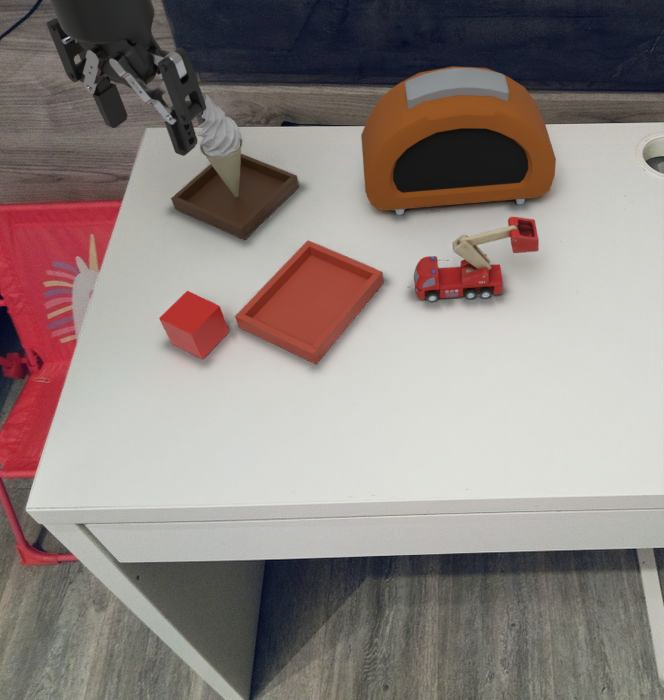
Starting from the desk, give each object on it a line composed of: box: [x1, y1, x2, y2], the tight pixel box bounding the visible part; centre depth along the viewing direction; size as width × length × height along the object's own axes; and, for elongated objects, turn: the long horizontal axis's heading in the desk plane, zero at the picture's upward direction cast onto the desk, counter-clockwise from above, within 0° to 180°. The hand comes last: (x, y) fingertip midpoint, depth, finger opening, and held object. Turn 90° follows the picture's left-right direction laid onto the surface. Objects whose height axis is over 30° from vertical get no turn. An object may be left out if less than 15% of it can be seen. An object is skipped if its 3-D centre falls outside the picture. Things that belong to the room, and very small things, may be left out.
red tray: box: [234, 239, 385, 365], centre depth 88 cm, size 14×11×2 cm
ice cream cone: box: [196, 93, 243, 197], centre depth 93 cm, size 5×5×15 cm
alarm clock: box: [360, 66, 557, 216], centre depth 94 cm, size 23×9×17 cm, turn 97°
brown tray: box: [170, 153, 300, 241], centre depth 98 cm, size 11×11×2 cm
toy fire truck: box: [413, 216, 540, 303], centre depth 86 cm, size 3×14×10 cm, turn 95°
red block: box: [158, 290, 230, 360], centre depth 84 cm, size 4×4×4 cm
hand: (152, 136), depth 74 cm, fingers open, 8 cm apart
